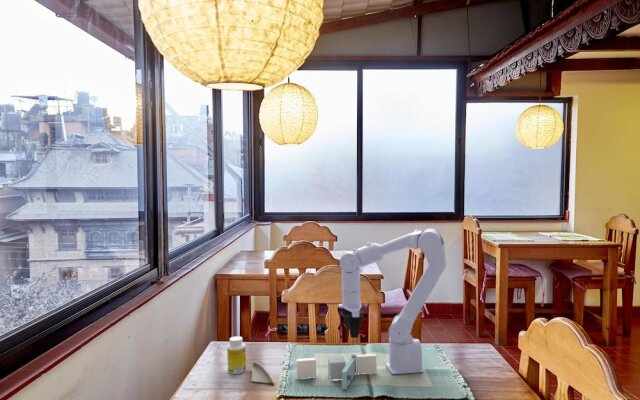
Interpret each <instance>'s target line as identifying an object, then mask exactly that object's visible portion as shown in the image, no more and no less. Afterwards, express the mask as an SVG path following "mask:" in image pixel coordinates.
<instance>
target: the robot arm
mask: <svg viewBox="0 0 640 400" xmlns="http://www.w3.org/2000/svg"><path fill="white" fill-rule="evenodd" d="M407 248H409V249H410V248H411V249H413V250H418V249H420V251H421V252H422V254H423V255H424V256H425V259H426V262H427V263H428V265H427V267H426V268H425V270H424V271H423V274H422V275H421V277H420V279H419V280H418V282H417V284H416V286H415V288H414V289H413V291H412V293H411V294H410V296H409V298H408V300H407V302H406V303H405V305H404V306H403V308H402V309H401V311H400V312H399V313H398V314H397V315H395V316H394V318H392V323H391V325H390V326H389V327H388V336H389V337H388V339H389V340H388V347H389V348H388V349H389V351H388V354H389V357H388V359H389V362H385V366H387V368H388V370H389V372H390V374H392V375H402V374H413V373H414V374H415V373H423V371H424V370H423V352H422V351H423V350H422V345H421V341H420V339H419V338H414V337H413V335H412V334H411V332H412V330H413V325H414V323H415V321H416V320H417V317H418V315H419V314H420V312H421V310H422V308H423V307H424V305H425V303H426V301H427V300H428V298H429V296H430V294H431V293H432V291H433V289H434V288H435V286H436V284H437V283H438V281H439V279H440V277H441V276H442V275H443V272H444V270H445V268H446V267H447V259H446V251H445V241H444V239H443V237H442V234H441V233H440V231H439V230H438V229H436V228H433V227H428V228H426V229H424V230H422V229H421V230H417V231H412V232H410V233H407V234H405V235H402V236H400V237H399V236H398V237H397V238H394V239H392V240H390V241H388V242H385V243H382V244H379V243H378V242H371V241H369V242H367V243H366V245H365V246H362V247H359V248H356V247H354V248H352V250H349V251H347V252H345V253H344V254H343V255H342V256H341V257H340V259H339V267H340V269H341V295H342V297H341V303H338V308H340V310H341V312H342V315H343V319H344V324H345V328H346V330H347V331H349V335H350V338H352V339H354V338H358V337H359V333H360V328H361V324H362V322H363V320H364V318H365V316H364V314H360V310H361V308H362V303H361V301H362V299H361V275H360V267H362V268H364V267H366V266H368V265H371V264H372V265H373V264H374V263H379V262H380V261H383V259H384V257H385V255H387V254H390V253H394V252H396V251H399V250H403V249H407Z"/></svg>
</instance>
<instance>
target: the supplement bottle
mask: <svg viewBox="0 0 640 400" xmlns="http://www.w3.org/2000/svg"><path fill="white" fill-rule="evenodd" d="M243 341H244V339H243V337H242V336H237V335H236V336H231V337H230V338H229V343H228V344H227V345H226V355H227V356H226V360H227V372H228V373H229V374H232V375H239V374H242V373H244V372H245V371H246V369H247V358H246V354H247V352H246V344H245V343H244V342H243Z"/></svg>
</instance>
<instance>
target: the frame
mask: <svg viewBox="0 0 640 400" xmlns="http://www.w3.org/2000/svg"><path fill="white" fill-rule="evenodd" d="M350 356H351V358H355V373H356V375H357V374H358V373H359V374H362V373H375V372H377V355H376V353H366V354H355V353H354V354H351V355H350ZM351 358H350V359H351ZM356 371H357V372H356ZM377 373H378V372H377ZM308 377H316V378H317V360H316V357H308V358H296V380H297V379H299V380H302V379H301V378H308Z"/></svg>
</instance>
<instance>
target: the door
mask: <svg viewBox="0 0 640 400" xmlns="http://www.w3.org/2000/svg"><path fill="white" fill-rule="evenodd" d="M354 375H355V358H350V359H349V360H348V362H346V366H345V367H344V369H343V370H342V381H341V389H342V390H343V389H346V390H347V389H348V388H349V386H350V385H351V383H350V382H352V381H353V380H354V378H355V376H356V375H355V376H354ZM353 377H354V378H353ZM351 380H352V381H351ZM348 385H349V386H348ZM347 387H348V388H347Z"/></svg>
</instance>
